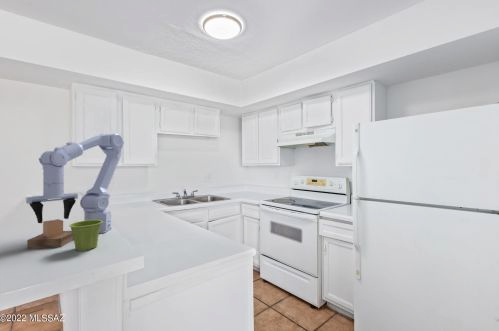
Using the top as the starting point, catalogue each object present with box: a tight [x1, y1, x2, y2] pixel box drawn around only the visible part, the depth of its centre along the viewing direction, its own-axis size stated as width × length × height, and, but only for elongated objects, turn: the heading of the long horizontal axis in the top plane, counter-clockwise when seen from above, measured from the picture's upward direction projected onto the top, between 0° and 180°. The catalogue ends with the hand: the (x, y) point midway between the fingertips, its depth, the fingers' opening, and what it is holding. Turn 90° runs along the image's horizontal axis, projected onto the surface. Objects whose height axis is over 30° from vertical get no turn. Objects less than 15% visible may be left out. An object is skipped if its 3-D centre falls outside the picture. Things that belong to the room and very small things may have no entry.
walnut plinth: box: [26, 230, 74, 250], centre depth 85 cm, size 10×10×3 cm
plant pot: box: [69, 220, 102, 252], centre depth 80 cm, size 9×9×9 cm
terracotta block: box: [42, 218, 64, 237], centre depth 85 cm, size 4×4×5 cm
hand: (53, 220), depth 85 cm, fingers open, 7 cm apart
